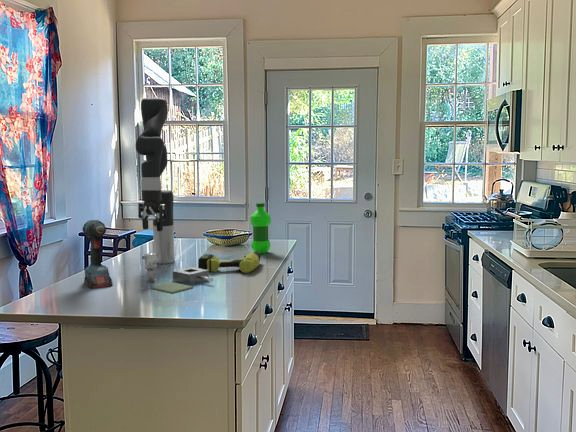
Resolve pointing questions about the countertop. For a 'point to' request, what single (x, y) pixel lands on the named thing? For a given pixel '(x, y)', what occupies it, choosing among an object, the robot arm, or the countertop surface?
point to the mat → (172, 287)
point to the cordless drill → (230, 262)
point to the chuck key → (150, 266)
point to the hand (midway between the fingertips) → (152, 230)
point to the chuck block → (191, 275)
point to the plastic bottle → (260, 229)
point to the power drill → (96, 256)
